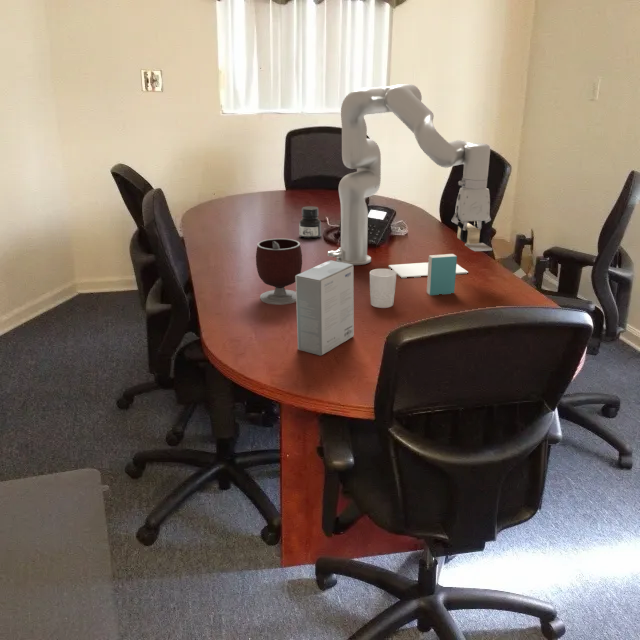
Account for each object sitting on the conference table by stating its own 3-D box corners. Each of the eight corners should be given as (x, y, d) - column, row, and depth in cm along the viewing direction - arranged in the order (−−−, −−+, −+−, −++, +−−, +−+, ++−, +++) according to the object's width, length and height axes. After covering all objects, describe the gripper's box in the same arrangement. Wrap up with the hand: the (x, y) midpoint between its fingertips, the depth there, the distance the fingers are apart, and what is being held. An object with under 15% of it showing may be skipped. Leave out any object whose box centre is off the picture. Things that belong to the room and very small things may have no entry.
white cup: (367, 300, 204) (367, 268, 200) (392, 299, 205) (393, 268, 201) (371, 309, 197) (371, 276, 193) (397, 308, 197) (398, 275, 194)
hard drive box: (330, 330, 181) (330, 259, 174) (354, 336, 177) (355, 264, 170) (296, 349, 169) (294, 274, 162) (321, 356, 165) (320, 279, 158)
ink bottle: (295, 238, 276) (294, 209, 272) (303, 233, 284) (303, 205, 279) (317, 240, 273) (316, 211, 268) (325, 235, 280) (325, 206, 276)
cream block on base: (452, 237, 221) (454, 222, 220) (469, 237, 223) (471, 222, 221) (474, 251, 207) (475, 235, 205) (492, 250, 208) (493, 234, 206)
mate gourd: (262, 290, 214) (259, 228, 206) (305, 291, 212) (304, 229, 205) (252, 306, 199) (249, 240, 192) (298, 308, 198) (297, 242, 191)
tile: (430, 295, 208) (432, 258, 204) (426, 292, 211) (428, 255, 207) (454, 293, 210) (456, 256, 206) (450, 290, 213) (453, 253, 208)
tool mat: (401, 278, 224) (401, 276, 224) (388, 266, 237) (388, 265, 237) (468, 273, 229) (468, 271, 229) (452, 262, 242) (452, 260, 242)
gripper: (454, 187, 205) (449, 245, 212) (504, 185, 208) (497, 243, 215) (445, 182, 212) (440, 239, 218) (493, 181, 215) (487, 237, 222)
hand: (469, 240), depth 217 cm, fingers closed on cream block on base, 3 cm apart
